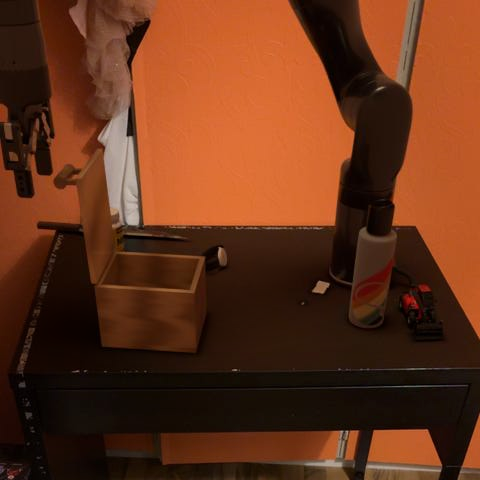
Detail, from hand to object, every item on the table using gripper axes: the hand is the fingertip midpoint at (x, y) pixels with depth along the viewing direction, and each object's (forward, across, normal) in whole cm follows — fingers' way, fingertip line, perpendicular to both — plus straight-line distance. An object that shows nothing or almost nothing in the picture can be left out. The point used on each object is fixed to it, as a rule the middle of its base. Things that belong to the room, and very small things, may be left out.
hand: (36, 185), depth 104 cm
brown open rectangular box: (+22, 0, -16) cm, 28 cm away
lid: (+4, 0, -9) cm, 10 cm away
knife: (+22, +34, -16) cm, 43 cm away
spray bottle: (+22, +7, -49) cm, 55 cm away
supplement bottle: (+23, +25, -3) cm, 34 cm away
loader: (+22, +8, -58) cm, 62 cm away
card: (+22, +15, -41) cm, 49 cm away
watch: (+22, +23, -22) cm, 39 cm away
